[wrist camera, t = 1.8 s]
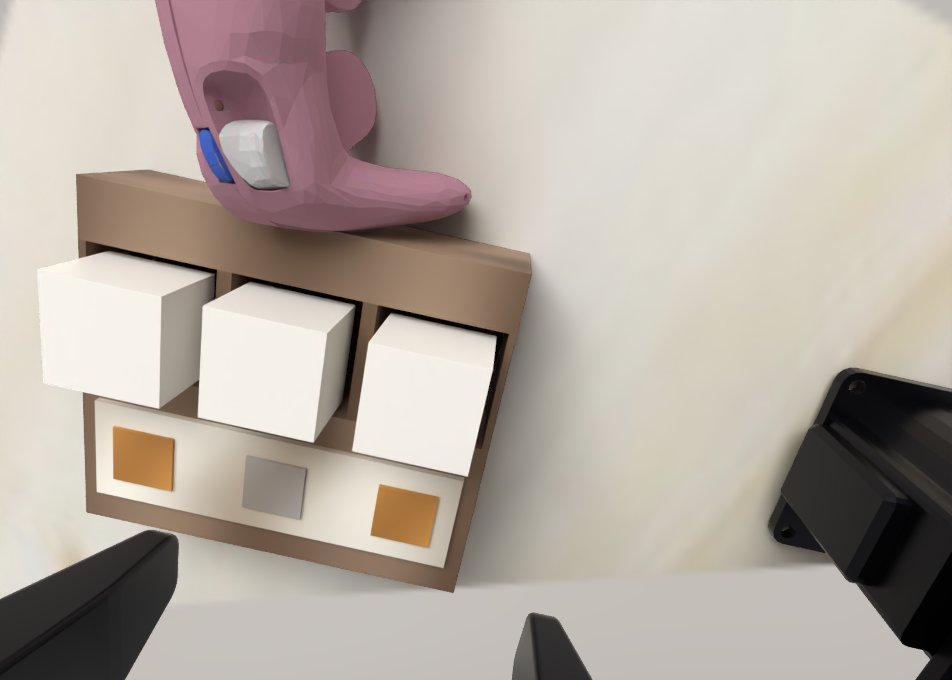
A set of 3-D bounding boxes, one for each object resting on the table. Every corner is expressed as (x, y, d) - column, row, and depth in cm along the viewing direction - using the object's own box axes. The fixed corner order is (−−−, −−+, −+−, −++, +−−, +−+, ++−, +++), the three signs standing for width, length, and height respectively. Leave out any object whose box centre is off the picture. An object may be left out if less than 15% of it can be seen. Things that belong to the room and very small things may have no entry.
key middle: (355, 305, 16) (327, 333, 13) (342, 400, 17) (313, 442, 14) (250, 281, 16) (202, 305, 13) (243, 378, 17) (198, 417, 14)
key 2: (496, 336, 16) (492, 369, 13) (474, 430, 17) (467, 476, 14) (391, 312, 16) (368, 342, 13) (375, 408, 17) (352, 451, 14)
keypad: (529, 253, 17) (531, 277, 14) (462, 532, 21) (452, 599, 18) (147, 169, 17) (67, 174, 14) (145, 462, 21) (79, 518, 18)
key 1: (215, 273, 16) (161, 296, 13) (209, 371, 17) (159, 408, 14) (109, 250, 16) (36, 269, 13) (110, 349, 17) (43, 383, 14)
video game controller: (337, -146, 16) (56, -314, 10) (479, -200, 13) (221, -457, 8) (366, 217, 19) (163, 247, 13) (486, 222, 16) (303, 261, 11)
